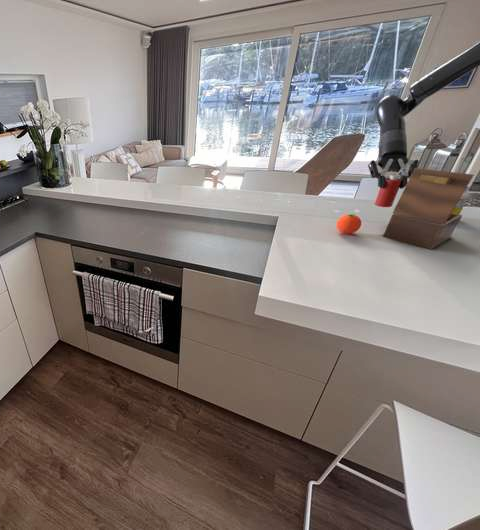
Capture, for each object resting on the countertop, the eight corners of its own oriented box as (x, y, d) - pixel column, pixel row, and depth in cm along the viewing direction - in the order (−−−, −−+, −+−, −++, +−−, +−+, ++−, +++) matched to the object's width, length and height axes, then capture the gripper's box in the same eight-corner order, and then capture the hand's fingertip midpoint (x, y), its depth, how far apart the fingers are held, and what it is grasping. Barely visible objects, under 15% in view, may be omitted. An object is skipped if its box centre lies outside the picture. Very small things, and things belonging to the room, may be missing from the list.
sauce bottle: (378, 201, 110) (389, 172, 104) (394, 205, 106) (407, 174, 100) (371, 204, 108) (382, 175, 102) (387, 208, 104) (399, 177, 98)
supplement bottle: (429, 214, 111) (445, 181, 104) (453, 217, 107) (472, 182, 101) (432, 220, 106) (449, 186, 100) (457, 223, 102) (477, 187, 96)
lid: (415, 168, 89) (409, 167, 87) (474, 174, 79) (468, 174, 77) (393, 213, 95) (386, 214, 93) (444, 224, 85) (439, 225, 83)
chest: (402, 226, 104) (411, 205, 100) (450, 237, 94) (462, 215, 90) (383, 235, 99) (392, 214, 95) (431, 249, 89) (443, 226, 85)
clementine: (334, 226, 108) (340, 208, 104) (357, 230, 104) (364, 211, 101) (333, 235, 102) (339, 216, 99) (357, 238, 99) (364, 219, 95)
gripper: (373, 140, 104) (372, 181, 101) (424, 138, 99) (425, 182, 96) (363, 152, 111) (362, 192, 108) (411, 151, 106) (411, 193, 103)
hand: (392, 187), depth 102 cm, fingers closed on sauce bottle, 5 cm apart
